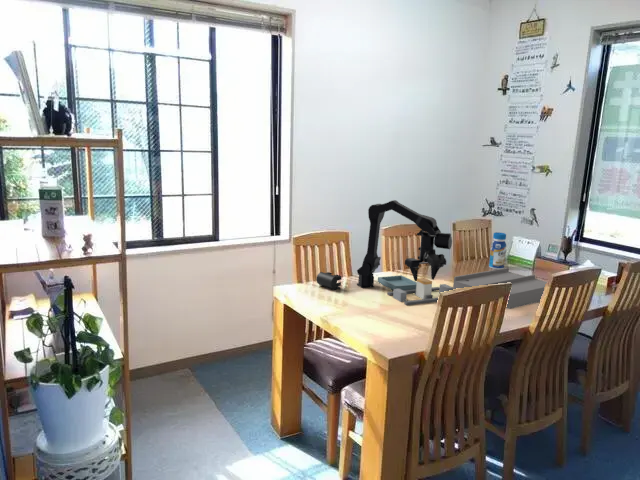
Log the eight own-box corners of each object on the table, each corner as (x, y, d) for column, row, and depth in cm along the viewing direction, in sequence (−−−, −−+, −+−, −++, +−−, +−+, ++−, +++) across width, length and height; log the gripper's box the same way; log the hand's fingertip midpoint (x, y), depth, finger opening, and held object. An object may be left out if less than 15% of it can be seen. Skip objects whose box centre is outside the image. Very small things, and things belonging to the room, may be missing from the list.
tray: (395, 291, 232) (396, 286, 232) (377, 282, 247) (377, 277, 247) (420, 289, 238) (420, 284, 237) (401, 280, 252) (401, 275, 252)
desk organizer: (563, 297, 235) (564, 282, 233) (509, 310, 213) (511, 294, 212) (505, 280, 260) (507, 267, 259) (452, 290, 239) (454, 276, 237)
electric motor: (315, 286, 236) (316, 272, 235) (326, 284, 241) (327, 270, 240) (330, 291, 229) (331, 277, 228) (341, 288, 234) (342, 274, 233)
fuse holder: (406, 305, 213) (407, 296, 212) (387, 294, 227) (387, 286, 226) (459, 299, 224) (460, 290, 223) (437, 289, 238) (438, 281, 238)
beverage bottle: (493, 265, 292) (497, 231, 288) (507, 268, 285) (510, 233, 281) (485, 267, 286) (489, 232, 282) (498, 270, 280) (502, 235, 276)
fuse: (423, 299, 222) (424, 281, 221) (415, 295, 228) (416, 278, 226) (430, 298, 224) (432, 281, 222) (423, 294, 229) (424, 277, 228)
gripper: (419, 251, 210) (417, 286, 213) (455, 248, 218) (452, 283, 221) (405, 245, 220) (402, 280, 223) (440, 243, 228) (437, 277, 231)
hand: (424, 280), depth 224 cm, fingers open, 9 cm apart
